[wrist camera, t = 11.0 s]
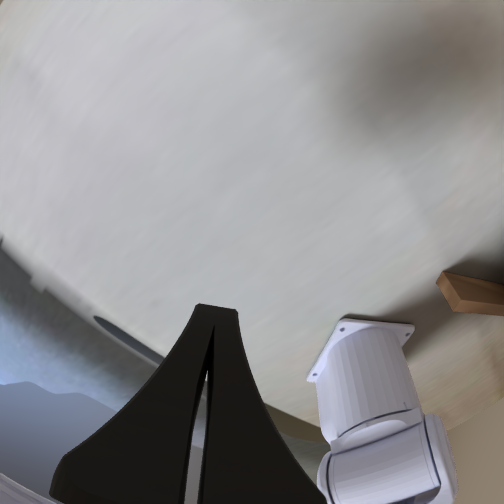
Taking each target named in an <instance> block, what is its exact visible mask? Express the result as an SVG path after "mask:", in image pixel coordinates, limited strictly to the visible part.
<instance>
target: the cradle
mask: <svg viewBox="0 0 504 504" xmlns="http://www.w3.org/2000/svg"><path fill="white" fill-rule="evenodd" d="M436 284H437V285H438V287H439V289H440V290H441V292H442V294H443V295H444V297H445V299H446V300H447V302H448V304H449V305H450V307H451V309H452V311H454V312H464V313H475V314H486V315H498V316H504V285H503V284H499V283H494V282H490V281H485V280H480V279H476V278H471V277H466V276H461V275H457V274H452V273H447V272H442V273H441V275H440V277H439V278H438V280H437V282H436Z"/></svg>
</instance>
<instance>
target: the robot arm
mask: <svg viewBox="0 0 504 504" xmlns="http://www.w3.org/2000/svg"><path fill="white" fill-rule="evenodd" d="M414 330H415V327H414V325H411V324H398V323H387V322H376V321H365V320H356V319H342V320H340V321H339V323H338V324H337V326H336V328H335V330H334V332H333V333H332V335H331V337H330V339H329V340H328V342H327V344H326V346H325V347H324V349H323V351H322V353H321V354H320V356H319V358H318V359H317V361H316V363H315V364H314V366H313V368H312V369H311V371H310V373H309V374H308V376H307V381H308V382H316V390H317V398H318V407H319V416H320V426H321V430H322V434H323V436H324V437H325V439H326V440H327V441H328V443H329V444H330V445H331V451H330V452H328V453H326V454H325V456H324V457H323V459H322V461H321V464H320V466H319V469H318V473H317V486H316V485H315V484H314V483H313V481H312V480H311V479H310V478H309V476H308V475H307V474H306V473H305V471H304V470H303V469H302V467H301V466H300V464H299V463H298V462H297V460H296V459H295V458H294V456H293V454H292V453H291V451H290V450H289V448H288V447H287V445H286V443H285V442H284V440H283V439H282V437H281V435H280V434H279V432H278V430H277V428H276V427H275V425H274V423H273V421H272V419H271V417H270V415H269V413H268V411H267V409H266V407H265V405H264V403H263V400H262V398H261V396H260V393H259V391H258V389H257V386H256V383H255V381H254V378H253V375H252V373H251V370H250V367H249V363H248V360H247V357H246V353H245V350H244V346H243V342H242V337H241V333H240V327H239V319H238V312H237V311H236V309H230V308H224V307H218V306H212V305H206V304H200V303H199V304H197V305H196V306H195V309H194V311H193V313H192V315H191V318H190V319H189V321H188V323H187V325H186V327H185V329H184V330H183V332H182V334H181V335H180V337H179V338H178V340H177V341H176V343H175V345H174V346H173V348H172V349H171V351H170V352H169V354H168V355H167V356H166V358H165V359H164V360H163V362H162V363H161V364H160V366H159V367H158V368H157V370H156V371H155V372H154V374H153V375H152V376H151V377H150V378H149V380H148V381H147V382H146V383H145V384H144V385H143V387H142V388H141V389H140V390H139V391H138V392H137V393H136V394H135V396H134V397H133V398H132V399H131V400H130V401H129V402H128V403H127V404H126V405H125V406H124V407H123V408H122V409H121V410H120V411H119V412H118V413H117V414H116V415H115V416H113V417H112V418H111V419H110V420H109V421H108V422H107V423H105V424H104V425H103V426H102V427H101V428H100V429H98V430H97V431H96V432H95V433H94V434H93V435H91V436H90V437H89V438H88V439H86V440H85V441H83V442H82V443H81V444H80V445H78V446H77V447H75V448H74V449H72V450H71V451H70V452H68V453H67V454H65V455H64V456H63V457H62V459H61V461H60V463H59V464H58V466H57V468H56V470H55V473H54V475H53V479H52V483H51V488H50V491H49V494H50V496H51V497H52V498H54V499H56V500H58V501H60V502H62V503H64V504H184V501H185V491H186V483H187V474H188V466H189V458H190V450H191V442H192V435H193V429H194V424H195V419H196V415H197V411H198V407H199V403H200V399H201V395H202V391H203V387H204V383H205V379H206V375H207V370H208V375H207V401H206V429H205V440H204V448H203V457H202V465H201V474H200V483H199V491H198V500H197V504H453V503H454V501H455V499H456V494H457V492H458V481H457V477H456V467H455V462H454V457H453V453H452V449H451V446H450V442H449V439H448V435H447V432H446V429H445V427H444V424H443V421H442V419H441V417H440V416H438V415H434V414H433V413H430V414H428V415H426V416H425V414H424V413H423V411H422V408H421V404H420V401H419V398H418V395H417V391H416V388H415V385H414V382H413V379H412V376H411V373H410V370H409V367H408V364H407V362H406V359H405V356H404V353H403V350H402V346H403V345H404V344H405V343H406V341H407V340H408V339H409V337H410V336H411V335H412V333H413V332H414ZM0 504H56V503H54V502H52V501H50V500H48V499H46V498H44V497H41V496H40V495H38V494H36V493H34V492H32V491H30V490H28V489H27V488H25V487H23V486H21V485H19V484H18V483H16V482H14V481H13V480H11V479H9V478H8V477H6V476H5V475H3V474H2V473H0Z"/></svg>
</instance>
